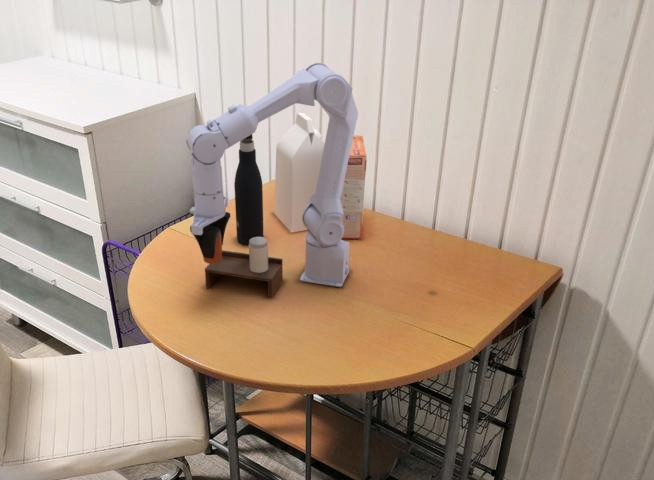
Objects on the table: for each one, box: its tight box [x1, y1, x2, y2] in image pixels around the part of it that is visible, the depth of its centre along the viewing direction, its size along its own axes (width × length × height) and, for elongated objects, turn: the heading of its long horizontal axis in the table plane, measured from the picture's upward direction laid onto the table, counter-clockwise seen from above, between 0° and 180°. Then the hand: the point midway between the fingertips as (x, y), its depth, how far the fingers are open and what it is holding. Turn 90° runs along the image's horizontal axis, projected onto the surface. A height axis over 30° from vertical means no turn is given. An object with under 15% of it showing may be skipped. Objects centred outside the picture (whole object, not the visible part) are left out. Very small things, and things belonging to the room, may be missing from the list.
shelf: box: [204, 249, 284, 299], centre depth 159 cm, size 15×8×6 cm, turn 73°
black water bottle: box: [233, 134, 265, 247], centre depth 169 cm, size 6×6×30 cm
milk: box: [273, 112, 325, 233], centre depth 180 cm, size 12×12×26 cm
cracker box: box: [340, 134, 368, 239], centre depth 178 cm, size 14×6×21 cm, turn 179°
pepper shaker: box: [202, 227, 223, 265], centre depth 151 cm, size 4×4×6 cm
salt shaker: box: [248, 237, 269, 273], centre depth 155 cm, size 4×4×6 cm
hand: (212, 252), depth 152 cm, fingers closed on pepper shaker, 4 cm apart
